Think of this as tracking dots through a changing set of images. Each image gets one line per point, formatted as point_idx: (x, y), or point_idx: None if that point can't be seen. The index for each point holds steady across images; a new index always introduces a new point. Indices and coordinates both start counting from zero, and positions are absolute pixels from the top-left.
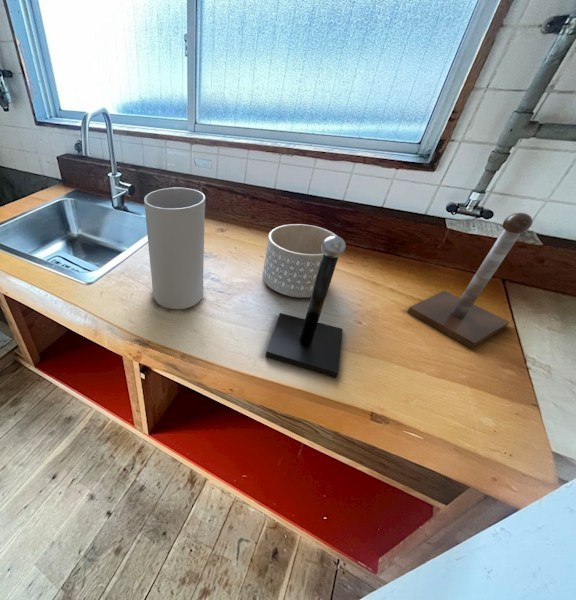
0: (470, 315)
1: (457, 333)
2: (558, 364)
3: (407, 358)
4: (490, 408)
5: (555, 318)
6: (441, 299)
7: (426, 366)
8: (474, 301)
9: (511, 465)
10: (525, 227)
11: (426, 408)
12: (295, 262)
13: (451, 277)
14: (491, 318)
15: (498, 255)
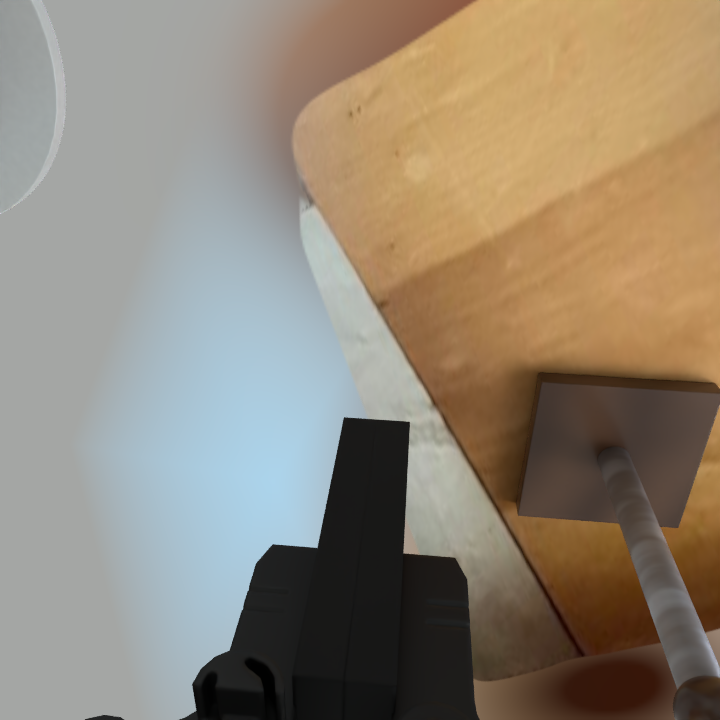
0: (589, 475)
1: (584, 385)
2: None
3: (633, 203)
4: (429, 214)
5: None
6: (669, 486)
7: (585, 219)
8: (611, 493)
9: (337, 87)
10: (686, 700)
11: (520, 71)
12: None
13: None
14: (550, 498)
15: (670, 604)
